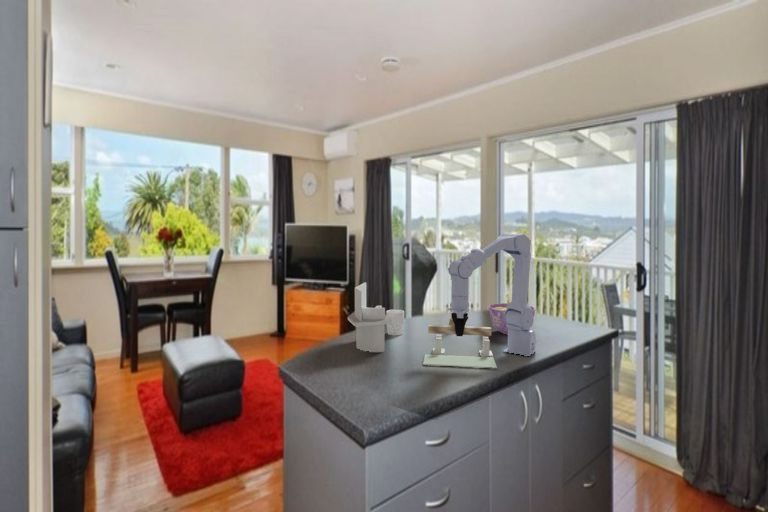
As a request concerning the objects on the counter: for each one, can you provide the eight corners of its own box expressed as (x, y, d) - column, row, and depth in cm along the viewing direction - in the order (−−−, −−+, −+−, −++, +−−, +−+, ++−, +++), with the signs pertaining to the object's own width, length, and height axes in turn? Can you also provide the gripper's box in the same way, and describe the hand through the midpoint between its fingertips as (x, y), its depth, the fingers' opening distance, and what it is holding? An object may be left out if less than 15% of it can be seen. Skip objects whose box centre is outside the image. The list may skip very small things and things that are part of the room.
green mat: (493, 359, 146) (493, 357, 146) (496, 369, 136) (496, 367, 135) (424, 355, 150) (424, 354, 150) (423, 365, 139) (423, 363, 139)
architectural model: (405, 353, 153) (405, 290, 152) (348, 358, 147) (348, 293, 146) (383, 335, 180) (383, 281, 178) (334, 338, 174) (334, 283, 172)
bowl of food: (486, 337, 177) (486, 310, 176) (488, 326, 196) (489, 302, 195) (536, 340, 171) (537, 312, 170) (534, 329, 190) (534, 304, 189)
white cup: (383, 332, 184) (383, 310, 183) (399, 330, 187) (399, 308, 187) (391, 336, 177) (391, 313, 176) (407, 334, 180) (407, 312, 180)
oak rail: (490, 334, 142) (490, 327, 142) (491, 335, 140) (491, 328, 139) (428, 331, 145) (428, 324, 145) (428, 333, 143) (428, 326, 143)
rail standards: (491, 352, 154) (491, 336, 154) (492, 357, 148) (493, 341, 148) (433, 350, 157) (433, 334, 157) (432, 354, 151) (432, 338, 151)
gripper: (448, 292, 149) (447, 329, 150) (447, 298, 135) (447, 339, 136) (468, 292, 148) (467, 330, 149) (470, 299, 134) (469, 340, 135)
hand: (459, 334), depth 142 cm, fingers closed on oak rail, 2 cm apart
